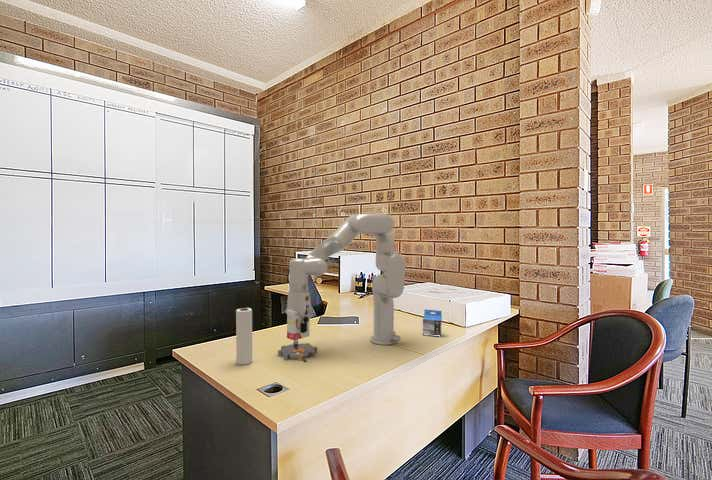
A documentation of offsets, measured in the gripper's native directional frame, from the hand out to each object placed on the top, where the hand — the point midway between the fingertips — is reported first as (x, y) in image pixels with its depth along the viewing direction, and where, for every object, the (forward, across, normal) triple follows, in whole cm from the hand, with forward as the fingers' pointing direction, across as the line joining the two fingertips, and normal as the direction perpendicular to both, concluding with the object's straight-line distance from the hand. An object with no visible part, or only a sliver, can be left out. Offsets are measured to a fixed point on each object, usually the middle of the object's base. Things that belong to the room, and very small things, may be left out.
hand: (298, 330), depth 150 cm
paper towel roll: (+11, +12, +18) cm, 24 cm away
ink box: (+3, 0, 0) cm, 3 cm away
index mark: (+11, -7, +3) cm, 13 cm away
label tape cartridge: (+10, -34, -59) cm, 69 cm away
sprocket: (+10, +2, -1) cm, 11 cm away
